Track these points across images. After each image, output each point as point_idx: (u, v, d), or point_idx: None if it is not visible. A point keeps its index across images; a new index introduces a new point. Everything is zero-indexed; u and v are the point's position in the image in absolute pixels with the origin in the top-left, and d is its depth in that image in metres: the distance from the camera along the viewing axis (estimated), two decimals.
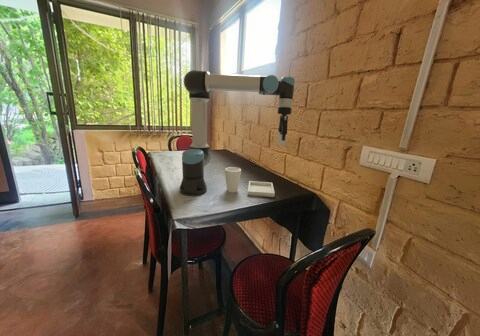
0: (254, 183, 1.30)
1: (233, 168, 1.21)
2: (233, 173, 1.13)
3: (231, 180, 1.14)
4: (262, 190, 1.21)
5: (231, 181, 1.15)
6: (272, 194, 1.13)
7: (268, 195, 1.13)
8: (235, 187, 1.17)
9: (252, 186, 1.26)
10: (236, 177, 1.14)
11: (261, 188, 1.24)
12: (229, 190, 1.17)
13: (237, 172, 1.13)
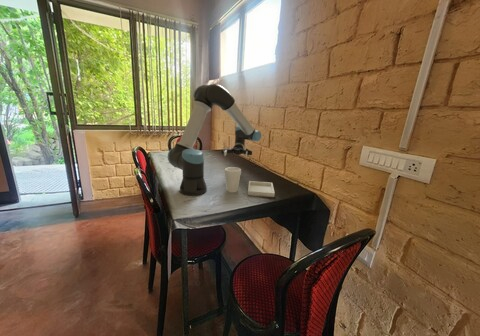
0: (254, 183, 1.30)
1: (233, 168, 1.21)
2: (233, 173, 1.13)
3: (231, 180, 1.14)
4: (262, 190, 1.21)
5: (231, 181, 1.15)
6: (272, 194, 1.13)
7: (268, 195, 1.13)
8: (235, 187, 1.17)
9: (252, 186, 1.26)
10: (236, 177, 1.14)
11: (261, 188, 1.24)
12: (229, 190, 1.17)
13: (237, 172, 1.13)
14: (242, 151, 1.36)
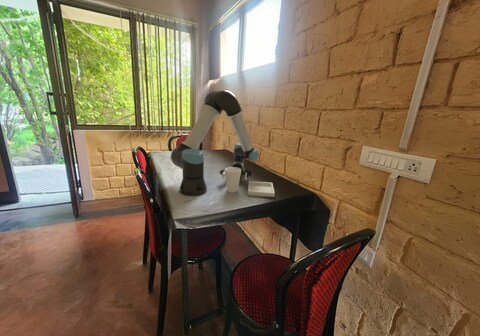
0: (254, 183, 1.30)
1: (233, 168, 1.21)
2: (233, 173, 1.13)
3: (231, 180, 1.14)
4: (262, 190, 1.21)
5: (231, 181, 1.15)
6: (272, 194, 1.13)
7: (268, 195, 1.13)
8: (235, 187, 1.17)
9: (252, 186, 1.26)
10: (236, 177, 1.14)
11: (261, 188, 1.24)
12: (229, 190, 1.17)
13: (237, 172, 1.13)
14: (241, 172, 1.32)
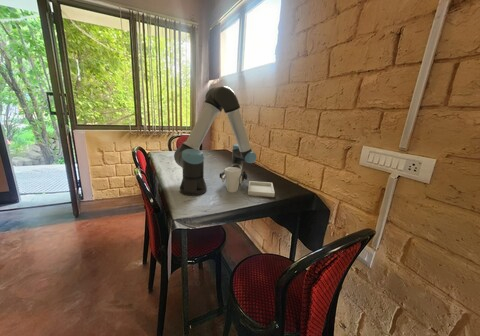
0: (254, 183, 1.30)
1: (233, 168, 1.21)
2: (233, 173, 1.13)
3: (231, 180, 1.14)
4: (262, 190, 1.21)
5: (231, 181, 1.15)
6: (272, 194, 1.13)
7: (268, 195, 1.13)
8: (235, 187, 1.17)
9: (252, 186, 1.26)
10: (236, 177, 1.14)
11: (261, 188, 1.24)
12: (229, 190, 1.17)
13: (237, 172, 1.13)
14: None
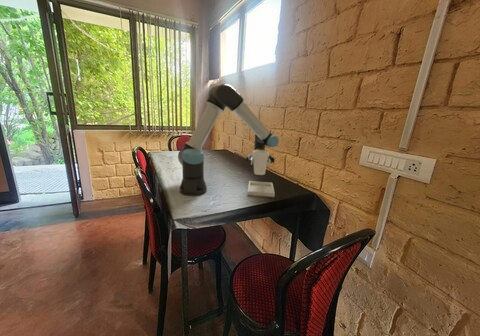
0: (254, 183, 1.30)
1: (260, 151, 1.19)
2: (262, 155, 1.11)
3: (260, 162, 1.13)
4: (262, 190, 1.21)
5: (260, 163, 1.13)
6: (272, 194, 1.13)
7: (268, 195, 1.13)
8: (263, 170, 1.15)
9: (252, 186, 1.26)
10: (265, 159, 1.13)
11: (261, 188, 1.24)
12: (257, 173, 1.16)
13: (266, 154, 1.12)
14: None
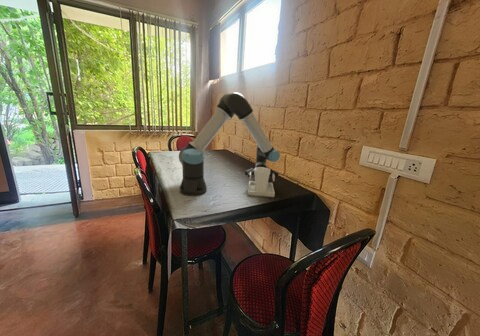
0: (254, 183, 1.30)
1: (261, 168, 1.22)
2: (263, 173, 1.13)
3: (261, 180, 1.15)
4: None
5: (261, 181, 1.15)
6: (272, 194, 1.13)
7: (268, 195, 1.13)
8: (264, 187, 1.18)
9: (252, 186, 1.26)
10: (266, 177, 1.15)
11: None
12: (258, 190, 1.18)
13: (267, 172, 1.14)
14: None
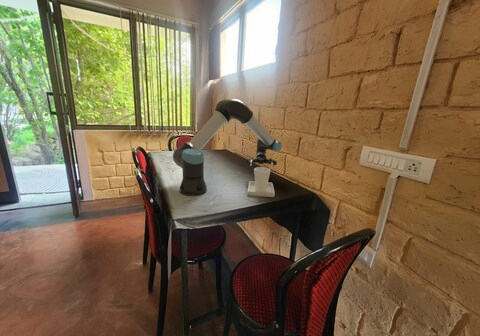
0: (254, 183, 1.30)
1: (261, 168, 1.22)
2: (263, 173, 1.13)
3: (261, 180, 1.15)
4: None
5: (261, 181, 1.15)
6: (272, 194, 1.13)
7: (268, 195, 1.13)
8: (264, 187, 1.18)
9: (252, 186, 1.26)
10: (266, 177, 1.15)
11: None
12: (258, 190, 1.18)
13: (267, 172, 1.14)
14: (266, 161, 1.39)
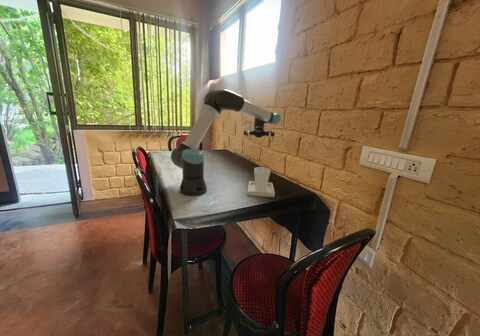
0: (254, 183, 1.30)
1: (261, 168, 1.22)
2: (263, 173, 1.13)
3: (261, 180, 1.15)
4: None
5: (261, 181, 1.15)
6: (272, 194, 1.13)
7: (268, 195, 1.13)
8: (264, 187, 1.18)
9: (252, 186, 1.26)
10: (266, 177, 1.15)
11: None
12: (258, 190, 1.18)
13: (267, 172, 1.14)
14: (264, 133, 1.37)
